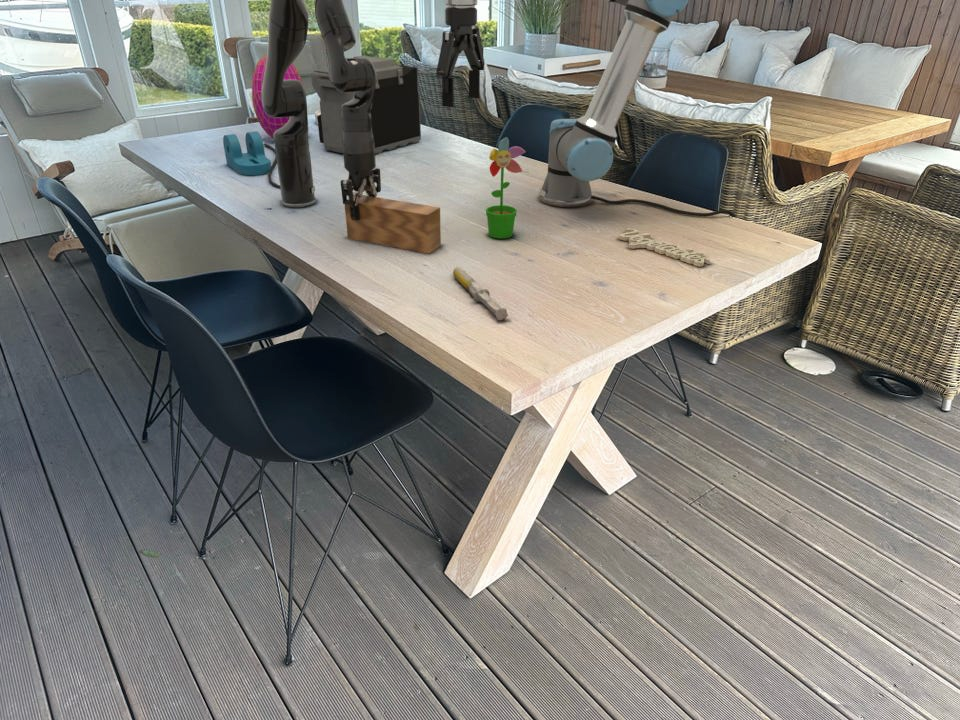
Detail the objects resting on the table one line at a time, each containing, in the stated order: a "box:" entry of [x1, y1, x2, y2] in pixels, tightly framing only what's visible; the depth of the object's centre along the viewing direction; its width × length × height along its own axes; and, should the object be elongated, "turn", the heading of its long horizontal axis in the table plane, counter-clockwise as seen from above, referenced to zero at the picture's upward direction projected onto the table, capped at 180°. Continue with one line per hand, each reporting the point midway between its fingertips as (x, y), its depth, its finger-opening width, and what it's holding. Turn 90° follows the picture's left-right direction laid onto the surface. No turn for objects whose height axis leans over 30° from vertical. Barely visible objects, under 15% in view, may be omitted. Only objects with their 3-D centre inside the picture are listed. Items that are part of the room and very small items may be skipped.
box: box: [344, 194, 442, 255], centre depth 170 cm, size 24×6×10 cm, turn 65°
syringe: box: [452, 266, 509, 321], centre depth 145 cm, size 25×4×3 cm, turn 21°
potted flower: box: [485, 136, 527, 239], centre depth 171 cm, size 9×8×25 cm
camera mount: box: [222, 131, 272, 176], centre depth 226 cm, size 18×10×10 cm, turn 35°
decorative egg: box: [251, 55, 304, 140], centre depth 257 cm, size 19×19×30 cm
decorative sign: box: [618, 227, 711, 267], centre depth 169 cm, size 26×1×10 cm
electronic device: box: [310, 55, 422, 155], centre depth 250 cm, size 37×22×30 cm, turn 144°
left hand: (363, 215), depth 173 cm, fingers open, 7 cm apart
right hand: (461, 102), depth 171 cm, fingers open, 13 cm apart
